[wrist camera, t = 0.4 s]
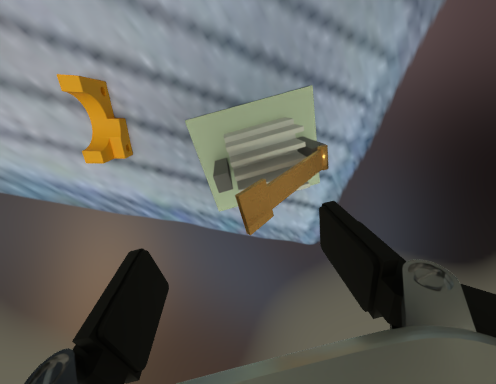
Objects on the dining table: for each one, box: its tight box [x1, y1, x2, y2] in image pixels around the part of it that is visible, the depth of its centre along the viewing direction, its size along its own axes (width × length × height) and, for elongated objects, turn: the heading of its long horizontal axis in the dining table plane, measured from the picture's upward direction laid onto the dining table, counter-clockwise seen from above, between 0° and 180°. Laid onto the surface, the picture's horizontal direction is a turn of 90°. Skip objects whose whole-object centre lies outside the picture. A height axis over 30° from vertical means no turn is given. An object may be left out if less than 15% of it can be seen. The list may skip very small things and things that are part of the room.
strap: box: [235, 145, 328, 235], centre depth 24 cm, size 18×5×1 cm
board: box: [185, 86, 326, 212], centre depth 34 cm, size 24×20×10 cm
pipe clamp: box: [57, 74, 133, 163], centre depth 30 cm, size 12×4×6 cm, turn 177°
